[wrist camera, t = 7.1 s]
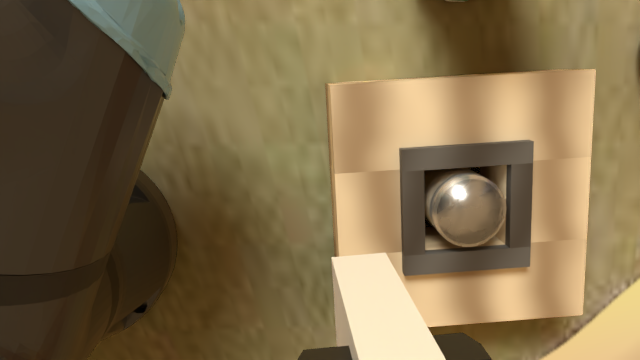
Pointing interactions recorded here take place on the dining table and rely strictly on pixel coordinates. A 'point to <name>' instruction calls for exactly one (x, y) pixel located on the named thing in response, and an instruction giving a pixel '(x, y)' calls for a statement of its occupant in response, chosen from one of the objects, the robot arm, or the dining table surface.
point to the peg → (463, 205)
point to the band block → (495, 164)
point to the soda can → (457, 0)
